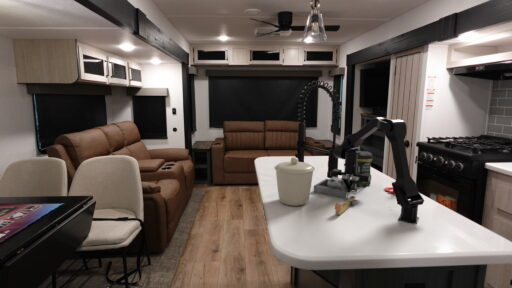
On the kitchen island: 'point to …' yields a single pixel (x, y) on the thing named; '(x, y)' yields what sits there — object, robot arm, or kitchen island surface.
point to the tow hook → (389, 188)
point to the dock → (332, 191)
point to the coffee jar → (364, 166)
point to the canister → (294, 181)
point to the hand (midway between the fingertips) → (349, 191)
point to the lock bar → (343, 205)
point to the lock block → (337, 183)
